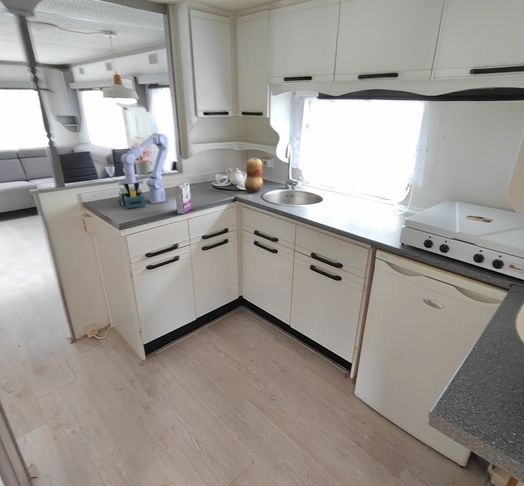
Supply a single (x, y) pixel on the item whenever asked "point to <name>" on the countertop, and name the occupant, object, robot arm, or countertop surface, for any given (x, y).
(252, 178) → the butternut squash
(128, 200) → the drawer
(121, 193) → the cabinet
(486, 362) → the countertop surface
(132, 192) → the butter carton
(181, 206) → the candy bar box
